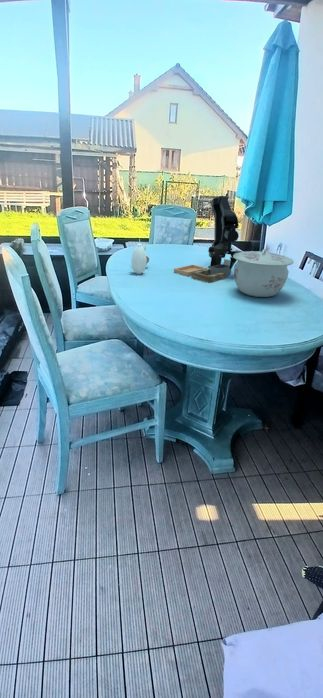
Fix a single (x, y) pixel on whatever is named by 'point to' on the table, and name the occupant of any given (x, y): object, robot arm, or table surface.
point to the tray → (188, 270)
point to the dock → (203, 276)
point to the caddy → (221, 268)
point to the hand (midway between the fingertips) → (223, 267)
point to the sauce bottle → (139, 259)
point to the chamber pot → (261, 272)
